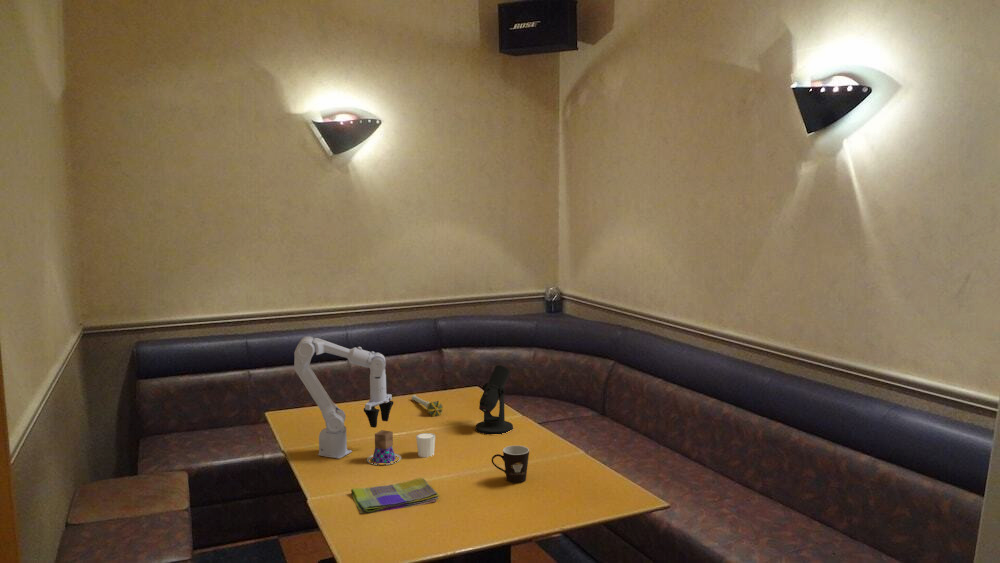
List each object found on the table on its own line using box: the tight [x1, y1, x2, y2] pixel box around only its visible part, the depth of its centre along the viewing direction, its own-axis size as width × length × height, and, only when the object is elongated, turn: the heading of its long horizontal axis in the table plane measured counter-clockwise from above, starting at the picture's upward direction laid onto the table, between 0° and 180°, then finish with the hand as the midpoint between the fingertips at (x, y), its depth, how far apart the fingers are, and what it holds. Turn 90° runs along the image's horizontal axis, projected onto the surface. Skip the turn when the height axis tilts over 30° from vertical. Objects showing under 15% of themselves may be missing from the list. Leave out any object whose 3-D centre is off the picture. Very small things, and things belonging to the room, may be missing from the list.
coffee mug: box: [491, 445, 530, 484], centre depth 238 cm, size 12×9×10 cm
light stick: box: [411, 394, 444, 418], centre depth 317 cm, size 7×6×30 cm
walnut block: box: [374, 429, 394, 449], centre depth 255 cm, size 4×4×5 cm
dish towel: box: [350, 477, 440, 515], centre depth 224 cm, size 18×24×3 cm
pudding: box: [366, 446, 402, 466], centre depth 256 cm, size 12×12×5 cm
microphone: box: [475, 364, 514, 435], centre depth 288 cm, size 15×17×25 cm
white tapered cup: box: [415, 432, 436, 458], centre depth 261 cm, size 7×7×7 cm
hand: (379, 424), depth 263 cm, fingers open, 7 cm apart
